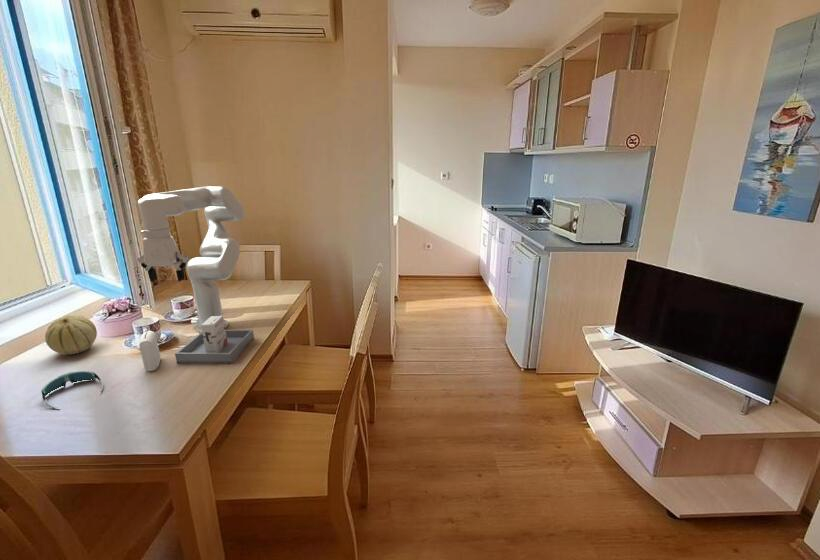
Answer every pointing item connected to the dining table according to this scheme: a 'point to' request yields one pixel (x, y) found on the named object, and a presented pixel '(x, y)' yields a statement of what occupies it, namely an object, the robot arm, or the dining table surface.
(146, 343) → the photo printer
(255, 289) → the dining table surface
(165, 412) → the dining table surface
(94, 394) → the dining table surface
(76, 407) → the dining table surface
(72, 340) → the cantaloupe
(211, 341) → the ink box
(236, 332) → the tray
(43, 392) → the sunglasses
